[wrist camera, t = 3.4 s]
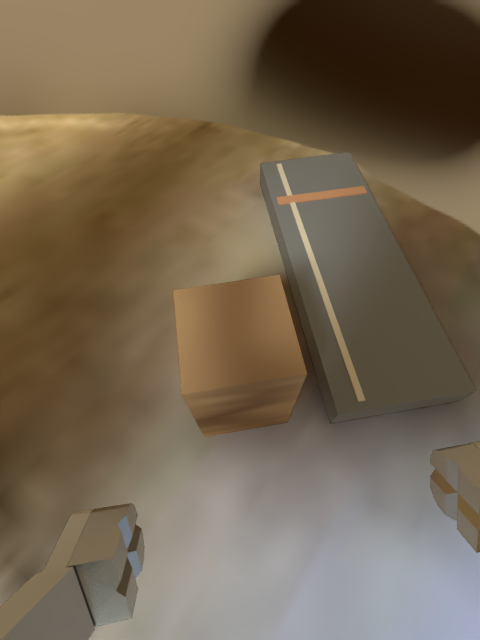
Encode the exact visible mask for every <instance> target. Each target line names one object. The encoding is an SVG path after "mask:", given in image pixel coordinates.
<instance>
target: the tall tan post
mask: <svg viewBox="0 0 480 640" xmlns="http://www.w3.org/2000/svg"><path fill="white" fill-rule="evenodd" d="M173 293H174V306H175V318H176V331H177V344H178V356H179V369H180V381H181V394H182V396H183V398H184V400H185V402H186V404H187V405H188V407H189V409H190V411H191V413H192V415H193V417H194V418H195V420H196V422H197V424H198V426H199V428H200V429H201V431H202V433H203V435H204V437H206V436H212V435H218V434H223V433H229V432H235V431H241V430H247V429H252V428H258V427H264V426H270V425H275V424H281V423H287V422H288V420H289V417H290V415H291V412H292V410H293V407H294V405H295V403H296V400H297V398H298V395H299V393H300V390H301V388H302V386H303V383H304V381H305V378H306V376H307V371H306V367H305V364H304V360H303V357H302V353H301V349H300V346H299V342H298V339H297V335H296V332H295V328H294V324H293V321H292V317H291V314H290V310H289V306H288V303H287V299H286V296H285V292H284V289H283V285H282V281H281V278H280V275H274V276H267V277H260V278H254V279H247V280H240V281H233V282H226V283H219V284H212V285H205V286H198V287H191V288H185V289H178V290H173Z"/></svg>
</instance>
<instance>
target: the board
mask: <svg viewBox="0 0 480 640" xmlns="http://www.w3.org/2000/svg"><path fill="white" fill-rule="evenodd" d="M260 185H261V188H262V192H263V195H264V199H265V202H266V205H267V209H268V212H269V216H270V219H271V222H272V226H273V229H274V233H275V236H276V239H277V243H278V246H279V250H280V253H281V257H282V260H283V263H284V267H285V270H286V274H287V277H288V280H289V284H290V287H291V291H292V294H293V298H294V301H295V304H296V308H297V311H298V315H299V318H300V321H301V325H302V328H303V332H304V335H305V338H306V342H307V345H308V349H309V352H310V356H311V359H312V362H313V366H314V369H315V373H316V376H317V379H318V383H319V386H320V390H321V393H322V397H323V400H324V403H325V407H326V410H327V414H328V417H329V420H330V424H331V423H336V422H342V421H348V420H353V419H359V418H365V417H371V416H376V415H382V414H388V413H393V412H399V411H405V410H411V409H416V408H422V407H428V406H434V405H439V404H445V403H451V402H456V401H459V400H461V399H463V398H464V397H466V396H468V395H470V394H472V393H473V392H475V391H476V389H475V387H474V385H473V383H472V381H471V380H470V378H469V376H468V374H467V372H466V370H465V368H464V366H463V364H462V363H461V361H460V359H459V357H458V355H457V353H456V351H455V349H454V347H453V346H452V344H451V342H450V340H449V338H448V336H447V334H446V332H445V331H444V329H443V327H442V325H441V323H440V321H439V319H438V317H437V315H436V314H435V312H434V310H433V308H432V306H431V304H430V302H429V300H428V299H427V297H426V295H425V293H424V291H423V289H422V287H421V285H420V283H419V282H418V280H417V278H416V276H415V274H414V272H413V270H412V268H411V266H410V265H409V263H408V261H407V259H406V257H405V255H404V253H403V251H402V250H401V248H400V246H399V244H398V242H397V240H396V238H395V236H394V234H393V233H392V231H391V229H390V227H389V225H388V223H387V221H386V219H385V218H384V216H383V214H382V212H381V210H380V208H379V206H378V204H377V202H376V201H375V199H374V197H373V195H372V193H371V191H370V189H369V187H368V185H367V184H366V182H365V180H364V178H363V176H362V174H361V172H360V170H359V169H358V167H357V165H356V163H355V161H354V159H353V157H352V155H351V153H350V152H348V153H339V154H331V155H323V156H315V157H307V158H299V159H290V160H282V161H274V162H266V163H261V166H260Z"/></svg>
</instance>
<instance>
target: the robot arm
mask: <svg viewBox="0 0 480 640" xmlns="http://www.w3.org/2000/svg"><path fill="white" fill-rule="evenodd" d="M430 463H431V464H432V465H433V466H434V468H435V470H434V472H433V473H432V475H431V476H430V488H431V491H432V494H433V497H434V499H435V501H436V503H437V505H438V506H439V508H440V509H441V510H442V511H443V513H444V514H445V515H447V516H449V517H451V518H453V519H455V520H457V530H458V531H459V532H460V533H461V535H462V536H463V537H464V538H465V539H466V541H467V542H468V543H469V544H470V545H471V547H472V548H473V549H474V550H475V551H476V553H478V552H480V441H478V442H473V443H468V444H464V445H459V446H453V447H448V448H442V449H437V450H433V451H432V453H431V458H430ZM136 520H137V511H136V508H135V505H134V504H132V503H130V504H123V505H116V506H110V507H103V508H97V509H94V510H86V511H79V512H75V513H73V514H72V515H71V516H70V518H69V520H68V522H67V524H66V526H65V528H64V530H63V532H62V534H61V536H60V538H59V540H58V542H57V544H56V546H55V548H54V550H53V552H52V554H51V556H50V558H49V560H48V562H47V564H46V566H45V569H44V571H43V572H41V573H36V574H35V575H34V576H33V577H32V578H31V579H30V580H29V581H28V582H26V583H25V584H24V585H23V586H22V587H21V588H20V589H19V590H18V591H17V592H16V593H14V594H13V595H12V596H11V597H10V598H9V599H8V600H7V601H6V602H5V603H4V604H2V605H1V606H0V640H88V639H89V637H90V636H91V634H92V633H93V632H94V630H95V628H94V627H97V626H101V625H105V624H110V623H114V622H119V621H123V620H128V619H132V616H133V611H134V606H135V601H136V596H137V591H138V587H137V583H136V580H135V578H136V577H137V576H138V575H139V573H140V572H141V571H142V566H143V561H144V539H143V533H142V529H141V528H140V527H139V526H137V525H136Z"/></svg>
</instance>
